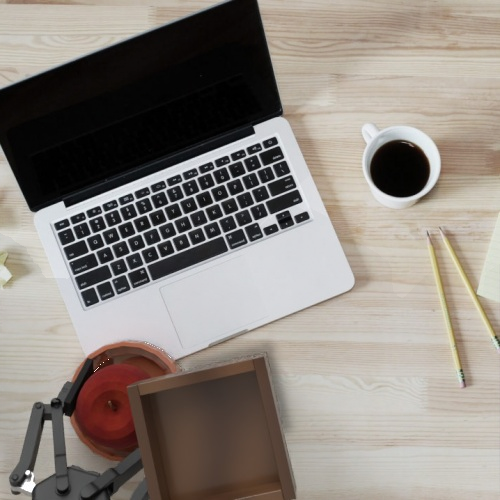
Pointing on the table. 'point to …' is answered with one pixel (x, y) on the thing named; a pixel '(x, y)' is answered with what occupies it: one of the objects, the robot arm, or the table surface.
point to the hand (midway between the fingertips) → (131, 377)
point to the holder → (213, 433)
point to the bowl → (130, 354)
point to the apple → (109, 406)
